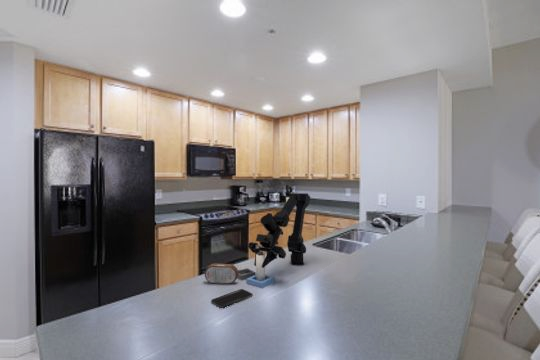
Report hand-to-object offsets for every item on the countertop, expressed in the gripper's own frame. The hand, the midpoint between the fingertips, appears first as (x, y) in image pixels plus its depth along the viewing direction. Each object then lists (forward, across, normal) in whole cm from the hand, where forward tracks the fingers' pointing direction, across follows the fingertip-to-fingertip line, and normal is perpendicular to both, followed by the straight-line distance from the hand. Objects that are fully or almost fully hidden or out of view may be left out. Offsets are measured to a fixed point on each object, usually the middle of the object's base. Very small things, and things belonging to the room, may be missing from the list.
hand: (258, 266), depth 115 cm
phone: (+18, +1, -7) cm, 20 cm away
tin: (+12, -14, -1) cm, 19 cm away
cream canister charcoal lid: (+4, 0, +6) cm, 7 cm away
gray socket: (+3, -11, +8) cm, 14 cm away
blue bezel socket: (+4, 0, +6) cm, 8 cm away
